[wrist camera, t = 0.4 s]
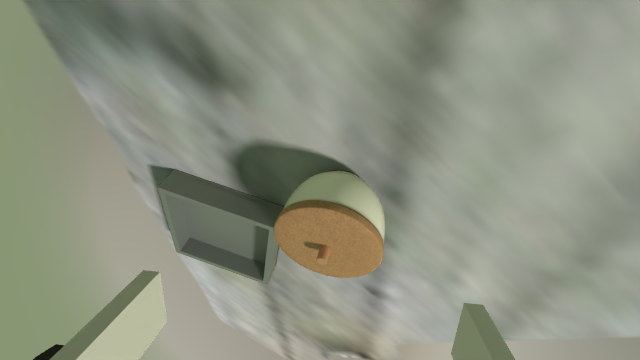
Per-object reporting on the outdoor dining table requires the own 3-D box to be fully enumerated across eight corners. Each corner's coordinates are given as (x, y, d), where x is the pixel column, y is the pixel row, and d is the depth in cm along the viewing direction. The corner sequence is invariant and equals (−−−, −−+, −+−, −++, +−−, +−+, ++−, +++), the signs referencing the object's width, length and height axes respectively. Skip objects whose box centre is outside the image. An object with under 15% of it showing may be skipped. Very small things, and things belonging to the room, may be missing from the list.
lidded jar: (333, 230, 40) (313, 297, 33) (279, 173, 35) (244, 237, 29) (409, 209, 33) (403, 287, 27) (356, 137, 29) (333, 208, 22)
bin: (174, 169, 40) (157, 187, 37) (285, 207, 39) (275, 228, 37) (188, 234, 51) (176, 251, 49) (275, 265, 50) (267, 284, 48)
